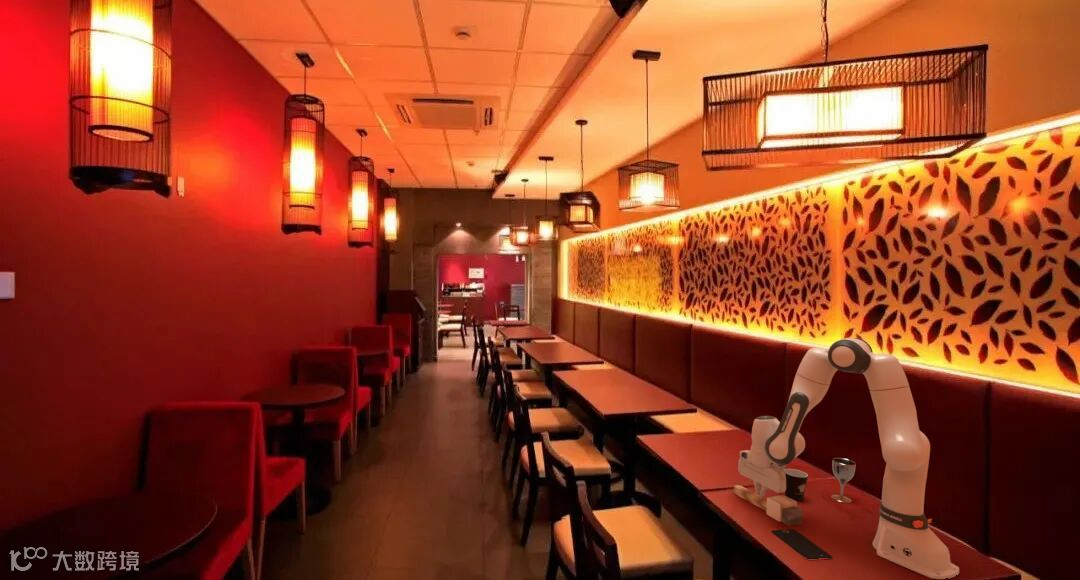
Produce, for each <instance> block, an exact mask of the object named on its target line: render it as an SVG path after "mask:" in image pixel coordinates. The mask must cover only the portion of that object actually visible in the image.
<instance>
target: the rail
mask: <svg viewBox="0 0 1080 580" xmlns="http://www.w3.org/2000/svg"><path fill="white" fill-rule="evenodd" d="M733 494H734V495H736V496H738V497H739V498H741V499H743V500H745V501H746V502H749V503H750V504H752V505H754V506H756V507H758V508H760V509H761V510H763V511H765V512H766V511H767V506H766V505H767V498H765V497H764V496H760V495H758V494H756V493H755V492H754V491H752V490H750V489H748V488H746V487H744V486H742V485H741V484H736V485H733ZM802 519H803V509H801V508H799V507H798V506H797V507H796V506H794V507H789V508H783V515H782V522H781V523H782V524H784V525H786V526H788V527H793V526H797V525H802V524H803V523H802V521H803V520H802Z"/></svg>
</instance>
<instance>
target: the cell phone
mask: <svg viewBox="0 0 1080 580" xmlns="http://www.w3.org/2000/svg"><path fill="white" fill-rule="evenodd" d="M771 533H772V534H773V535H775V536H776V537H777V538H779V540H781V541H783V543H785V544H786V545H787V546H789V547H790V548H792V549H793V550H794V551H795V550H796V551H795V552H797V553H798V554H799V553H800V554H801V556H802V555H803V556H804V557H806V558H807V559H819V558H832V559H833V556H832V555H831V554H829V553H828V552H827V551H825V550H824V549H823V548H821V547H820V546H818V545H817V544H816V543H814V542H813V541H812V540H810V539H809V538H808V537H806V536H804V535H803V534H802V533H801V532H799V531H798V530H796V529H795V528H788V529H786V528H785V529H772V530H771ZM800 554H799V555H800ZM803 556H802V557H803ZM804 557H803V558H804ZM806 558H805V559H806ZM807 559H806V560H807Z"/></svg>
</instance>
